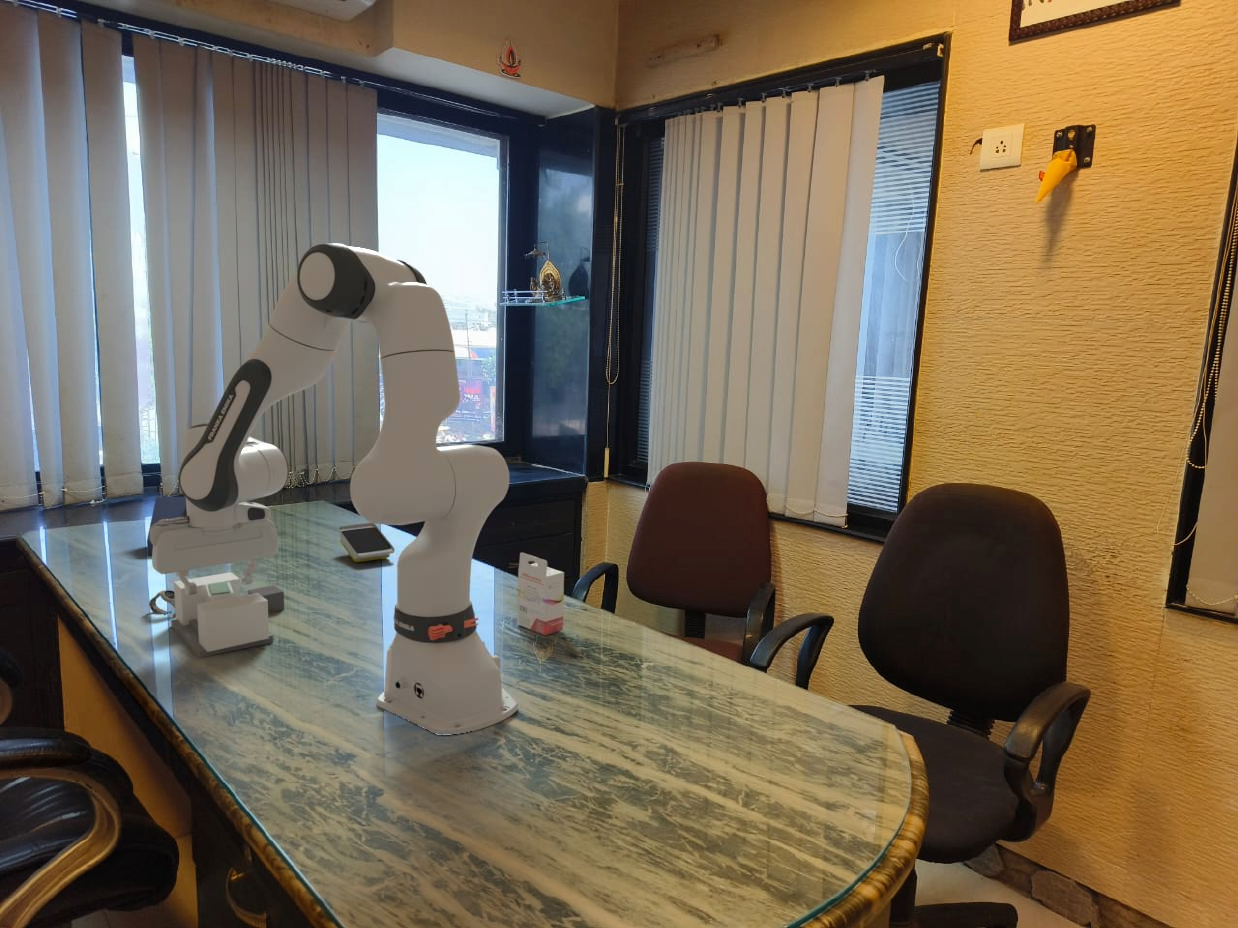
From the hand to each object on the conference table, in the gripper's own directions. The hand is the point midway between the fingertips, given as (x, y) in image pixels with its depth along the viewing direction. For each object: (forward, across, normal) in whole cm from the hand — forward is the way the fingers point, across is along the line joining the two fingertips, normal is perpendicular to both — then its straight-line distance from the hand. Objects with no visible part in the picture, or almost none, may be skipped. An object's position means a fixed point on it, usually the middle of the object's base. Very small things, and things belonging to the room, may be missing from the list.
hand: (219, 588), depth 141 cm
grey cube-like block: (+9, +11, +10) cm, 18 cm away
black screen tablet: (+4, +44, +41) cm, 61 cm away
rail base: (+9, 0, +1) cm, 9 cm away
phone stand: (+7, +10, +65) cm, 66 cm away
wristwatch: (+9, -5, +18) cm, 21 cm away
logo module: (+7, 0, +1) cm, 7 cm away
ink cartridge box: (+11, +49, -30) cm, 58 cm away
